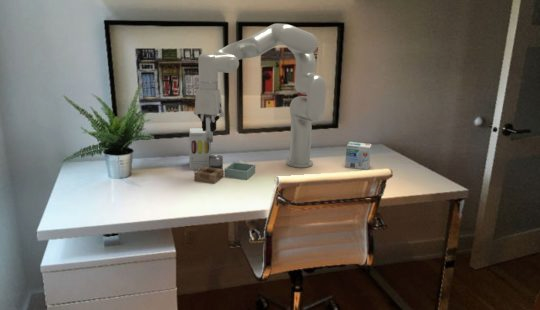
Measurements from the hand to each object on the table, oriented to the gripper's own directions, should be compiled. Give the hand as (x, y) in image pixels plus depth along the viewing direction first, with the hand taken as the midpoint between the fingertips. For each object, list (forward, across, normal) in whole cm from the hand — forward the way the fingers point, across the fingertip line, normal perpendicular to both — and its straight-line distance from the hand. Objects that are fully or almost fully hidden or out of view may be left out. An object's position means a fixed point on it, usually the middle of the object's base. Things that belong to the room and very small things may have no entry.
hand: (209, 130), depth 193 cm
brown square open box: (+21, 0, 0) cm, 21 cm away
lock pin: (+5, 0, 0) cm, 5 cm away
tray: (+21, +10, +10) cm, 25 cm away
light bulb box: (+22, +56, +42) cm, 73 cm away
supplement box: (+21, -11, +14) cm, 28 cm away
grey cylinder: (+21, -1, +9) cm, 23 cm away
